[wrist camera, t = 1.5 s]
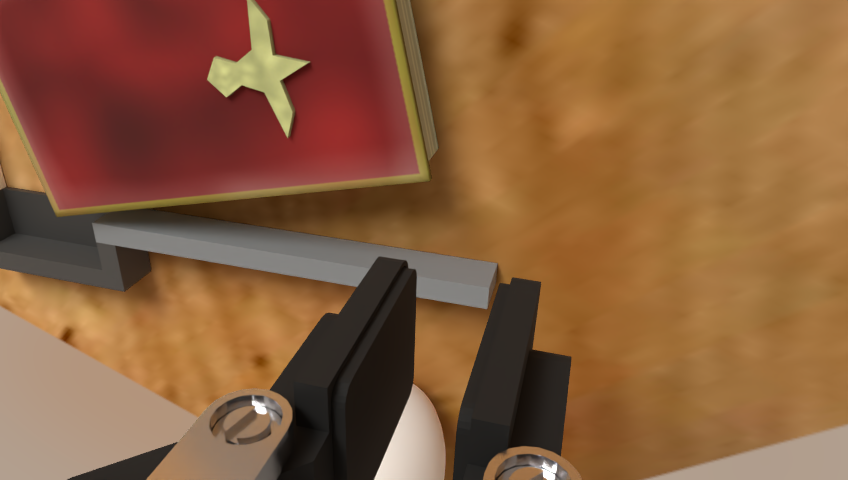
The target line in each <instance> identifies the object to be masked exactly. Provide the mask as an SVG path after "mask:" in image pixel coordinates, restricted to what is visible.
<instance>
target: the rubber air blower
mask: <svg viewBox="0 0 848 480" xmlns="http://www.w3.org/2000/svg"><path fill="white" fill-rule="evenodd" d="M445 463H446V450H445V443H444V437H443V431H442V427H441V423H440V421H439V418H438V415H437V413H436V410H435V408H434V406H433V404H432V403H431V401H430V399H429V398H428V397H427V396H426V394H425V393H424V392H423V391H422V390H421V389H420V388H418V387H417V386H416V385H414V384H413V386H412V390H411V394H410V397H409V399H408V401H407V404H406V406H405V409H404V411H403V413H402V416H401V418H400V420H399V423H398V425H397V427H396V430H395V432H394V434H393V437H392V439H391V441H390V444H389V446H388V448H387V451H386V453H385V455H384V458H383V460H382V462H381V465H380V467H379V469H378V472H377V474H376V476H375V479H374V480H444V476H445Z"/></svg>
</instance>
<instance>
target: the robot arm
mask: <svg viewBox="0 0 848 480" xmlns="http://www.w3.org/2000/svg"><path fill="white" fill-rule="evenodd" d="M540 287H541V282H538V281H532V280H526V279H519V278H512V280H511V283H510V285H509V284H503V283H500V285H499V288H498V291H497V294H496V297H495V300H494V303H493V306H492V310H491V313H490V316H489V319H488V322H487V325H486V328H485V332H484V335H483V338H482V341H481V344H480V347H479V350H478V354H477V357H476V360H475V363H474V366H473V369H472V372H471V376H470V379H469V382H468V385H467V388H466V391H465V394H464V398H463V401H462V404H461V408H460V413H459V418H458V424H457V432H456V445H455V459H454V472H453V480H582V479H581V477H580V475H579V473H578V472H577V470H576V469H575V468H574V467H573V466H572V465H571V464H570V463H569V462H568V461H567V460H566V459H564V458H562V457H561V449H562V440H563V431H564V421H565V412H566V403H567V394H568V385H569V376H570V367H571V357H570V356H564V355H559V354H553V353H548V352H542V351H537V350H532V347H533V340H534V333H535V325H536V318H537V310H538V303H539V295H540ZM416 289H417V272H416V269H411V268H408V262H407V261H406V260H400V259H394V258H388V257H382V256H379V257H378V258H377V259H376V260H375V262H374V263H373V265H372V266H371V268H370V269H369V271H368V272H367V274H366V275H365V276H364V278H363V279H362V281H361V282H360V284H359V285H358V287H357V288H356V290H355V291H354V293H353V294H352V295H351V297H350V298H349V300H348V301H347V303H346V304H345V306H344V307H343V309H342V310H341V312H340V313H339V314H333V313H326V314H325V315H324V316H323V317H322V318H321V319H320V321H319V322H318V323H317V325H316V326H315V328H314V329H313V330H312V332H311V333H310V335H309V336H308V337H307V339H306V340H305V342H304V343H303V344H302V346H301V347H300V349H299V350H298V351H297V353H296V354H295V355H294V357H293V358H292V360H291V361H290V362H289V364H288V365H287V367H286V368H285V369H284V371H283V372H282V374H281V375H280V376H279V378H278V379H277V381H276V382H275V383H274V385H273V386H272V387H271V389H270V390H264V389H245V390H239V391H236V392H233V393H229V394H227V395H225V396H223V397H221V398H219V399H217V400H216V401H215V402H213V403H212V404H211V405H210V406H209V407H208V408H207V409H206V410H205V411H204V412H203V413H202V414H201V416H200V417H199V418H198V419H197V420H196V422H195V423H194V424H193V425H192V426H191V427H190V429H189V430H188V431H187V432H186V433H185V435H184V436H183V437H182V438H181V439H180V440H179V442H176V443H173V444H170V445H167V446H164V447H162V448H158V449H155V450H152V451H150V452H146V453H143V454H140V455H138V456H135V457H132V458H129V459H126V460H123V461H120V462H117V463H114V464H111V465H108V466H105V467H102V468H99V469H96V470H93V471H90V472H87V473H84V474H81V475H78V476H75V477H72V478H70V479H68V480H374V479H375V476H376V474H377V472H378V469H379V467H380V465H381V462H382V460H383V458H384V455H385V453H386V451H387V448H388V446H389V444H390V441H391V439H392V437H393V434H394V432H395V430H396V427H397V425H398V423H399V420H400V418H401V416H402V413H403V411H404V409H405V406H406V404H407V401H408V399H409V397H410V394H411V390H412V386H413V379H414V350H415V320H416Z"/></svg>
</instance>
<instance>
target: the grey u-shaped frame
mask: <svg viewBox="0 0 848 480" xmlns="http://www.w3.org/2000/svg"><path fill="white" fill-rule="evenodd" d="M148 251H150V252H156V253H162V254H168V255H174V256H180V257H185V258H191V259H197V260H203V261H209V262H215V263H220V264H226V265H232V266H238V267H244V268H250V269H255V270H261V271H267V272H273V273H279V274H285V275H290V276H296V277H302V278H308V279H314V280H320V281H325V282H331V283H337V284H343V285H349V286H355V287H358V285H359V284H360V282H361V281H362V279H363V278H364V276H365V275H366V274H367V272H368V271H369V269H370V268H371V266H372V265H373V263H374V262H375V260H376V259H377V258H378V257H379V256H382V257H388V258H394V259H400V260H406V261H407V262H408V268H411V269H416V272H417V289H416V297H419V298H425V299H431V300H436V301H442V302H448V303H454V304H460V305H466V306H471V307H477V308H483V309H487V308H488V305H489V302H490V299H491V296H492V293H493V290H494V287H495V284H496V275H497V265H498V263H492V262H486V261H479V260H473V259H466V258H460V257H453V256H447V255H441V254H434V253H428V252H421V251H415V250H409V249H402V248H396V247H389V246H383V245H376V244H370V243H364V242H357V241H351V240H344V239H338V238H332V237H325V236H319V235H312V234H306V233H300V232H293V231H287V230H280V229H274V228H267V227H261V226H255V225H248V224H242V223H235V222H229V221H223V220H216V219H210V218H203V217H197V216H190V215H184V214H178V213H171V212H165V211H158V210H152V209H136V210H125V211H115V212H104V213H94V214H84V215H73V216H63V217H56V215H55V212H54V210H53V208H52V206H51V204H50V201H49V199H48V197H47V195H46V193H43V192H37V191H30V190H24V189H17V188H11V187H6V183H5V180H4V176H3V172H2V169H1V165H0V268H1V269H6V270H12V271H17V272H22V273H28V274H33V275H38V276H44V277H49V278H54V279H60V280H65V281H70V282H76V283H81V284H86V285H92V286H97V287H102V288H108V289H113V290H118V291H124V292H125V291H126V290H127V289H129V288H130V287H131V286H132V285H134V284H135V283H136V282H137V281H139V280H140V279H141V278H143V277H144V276H145V275H146V274H148V273H149V272H150V271H151V267H150V261H149V256H148Z"/></svg>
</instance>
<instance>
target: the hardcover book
mask: <svg viewBox="0 0 848 480" xmlns="http://www.w3.org/2000/svg"><path fill="white" fill-rule="evenodd" d="M0 93H1V96H2V98H3V100H4V102H5V104H6V107H7V109H8V111H9V113H10V115H11V118H12V120H13V122H14V124H15V126H16V129H17V131H18V133H19V135H20V137H21V140H22V142H23V144H24V146H25V148H26V151H27V153H28V155H29V157H30V159H31V162H32V164H33V166H34V168H35V170H36V173H37V175H38V177H39V179H40V181H41V184H42V186H43V188H44V190H45V193H46V195H47V197H48V199H49V201H50V204H51V206H52V208H53V210H54V212H55V215H56V217H63V216H73V215H84V214H94V213H104V212H115V211H125V210H136V209H146V208H156V207H167V206H177V205H188V204H198V203H208V202H219V201H229V200H240V199H250V198H260V197H271V196H281V195H292V194H302V193H312V192H323V191H333V190H344V189H354V188H364V187H375V186H385V185H396V184H406V183H416V182H427V181H430V180H431V179H432V175H431V170H430V165H429V160H430V159H431V158H432V156H433V155H434V154H435V152H436V151H437V150H438V148H439V147H438V142H437V137H436V131H435V126H434V121H433V116H432V111H431V106H430V101H429V95H428V90H427V85H426V80H425V75H424V70H423V64H422V59H421V54H420V49H419V44H418V39H417V33H416V28H415V23H414V18H413V13H412V8H411V2H410V0H0Z"/></svg>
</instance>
